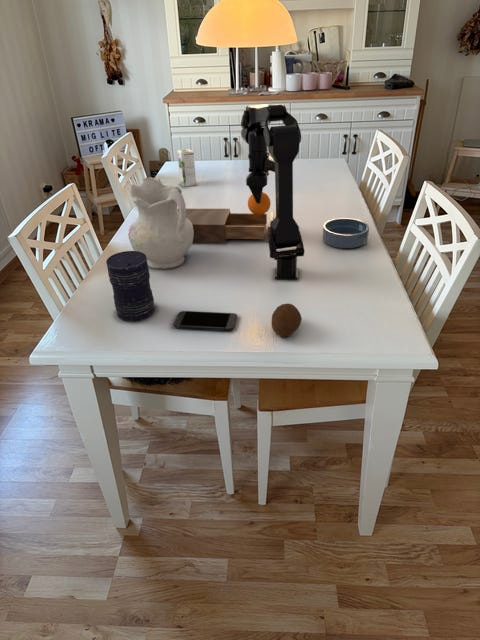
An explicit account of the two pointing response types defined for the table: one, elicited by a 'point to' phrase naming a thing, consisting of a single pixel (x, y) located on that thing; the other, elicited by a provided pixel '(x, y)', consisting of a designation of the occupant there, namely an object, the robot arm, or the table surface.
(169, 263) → the ceramic pitcher
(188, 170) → the syrup box
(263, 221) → the drawer
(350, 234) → the bowl
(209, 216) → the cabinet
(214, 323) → the smartphone
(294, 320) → the potato
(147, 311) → the storage jar
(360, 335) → the table surface
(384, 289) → the table surface
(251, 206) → the orange
